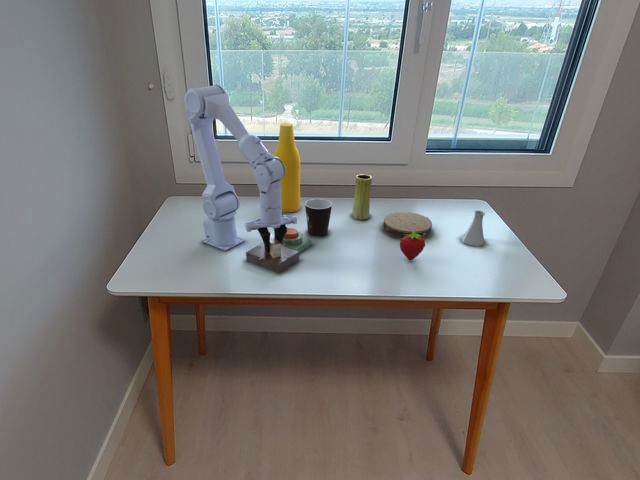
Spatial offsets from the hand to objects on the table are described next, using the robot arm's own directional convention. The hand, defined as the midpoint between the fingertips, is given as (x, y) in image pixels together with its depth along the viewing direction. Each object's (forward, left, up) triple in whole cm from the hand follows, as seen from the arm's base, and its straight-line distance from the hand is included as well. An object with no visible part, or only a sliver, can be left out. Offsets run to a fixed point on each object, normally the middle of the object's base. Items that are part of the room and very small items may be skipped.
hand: (272, 249), depth 129 cm
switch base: (0, 0, -4) cm, 4 cm away
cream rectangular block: (0, 0, -1) cm, 1 cm away
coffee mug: (-1, +25, -4) cm, 25 cm away
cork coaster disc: (+22, +44, -4) cm, 49 cm away
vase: (+4, +44, -4) cm, 44 cm away
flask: (+43, +49, -4) cm, 65 cm away
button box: (-2, +11, -4) cm, 12 cm away
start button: (-2, +11, 0) cm, 11 cm away
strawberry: (+32, +25, -4) cm, 41 cm away
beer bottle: (-21, +34, -4) cm, 40 cm away
